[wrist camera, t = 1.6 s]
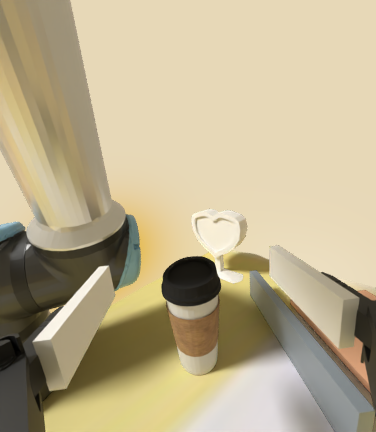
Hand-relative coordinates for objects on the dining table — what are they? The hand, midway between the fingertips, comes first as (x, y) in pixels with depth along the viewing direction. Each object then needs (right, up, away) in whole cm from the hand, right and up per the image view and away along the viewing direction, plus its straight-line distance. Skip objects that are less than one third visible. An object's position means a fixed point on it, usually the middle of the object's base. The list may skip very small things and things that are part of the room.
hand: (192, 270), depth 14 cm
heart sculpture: (+9, -12, +36) cm, 39 cm away
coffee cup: (+1, -18, +13) cm, 22 cm away
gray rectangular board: (+15, -16, +14) cm, 26 cm away
